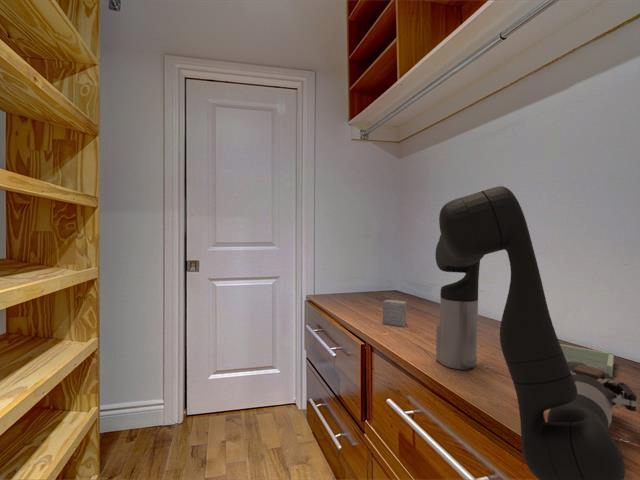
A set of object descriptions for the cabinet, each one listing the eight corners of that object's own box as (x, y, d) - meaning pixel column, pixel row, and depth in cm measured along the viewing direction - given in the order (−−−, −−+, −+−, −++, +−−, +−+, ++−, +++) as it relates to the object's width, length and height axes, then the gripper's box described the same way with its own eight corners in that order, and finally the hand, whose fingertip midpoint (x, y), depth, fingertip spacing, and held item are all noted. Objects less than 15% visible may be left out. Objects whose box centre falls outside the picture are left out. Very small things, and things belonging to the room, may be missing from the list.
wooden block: (571, 408, 69) (572, 367, 68) (579, 403, 71) (580, 363, 71) (596, 417, 65) (598, 374, 65) (603, 411, 68) (605, 370, 67)
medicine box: (406, 324, 132) (407, 301, 132) (402, 327, 128) (403, 303, 128) (386, 321, 136) (387, 299, 136) (382, 324, 132) (382, 301, 132)
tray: (612, 376, 84) (612, 366, 84) (548, 363, 93) (548, 353, 93) (613, 363, 94) (613, 353, 94) (554, 351, 102) (555, 343, 102)
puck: (586, 382, 81) (587, 369, 81) (565, 377, 84) (566, 364, 84) (588, 376, 84) (588, 364, 84) (567, 372, 87) (568, 360, 87)
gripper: (642, 397, 52) (639, 365, 65) (531, 370, 62) (547, 347, 75) (640, 447, 53) (637, 405, 65) (530, 413, 62) (546, 382, 75)
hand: (589, 374), depth 70 cm, fingers closed on wooden block, 4 cm apart
